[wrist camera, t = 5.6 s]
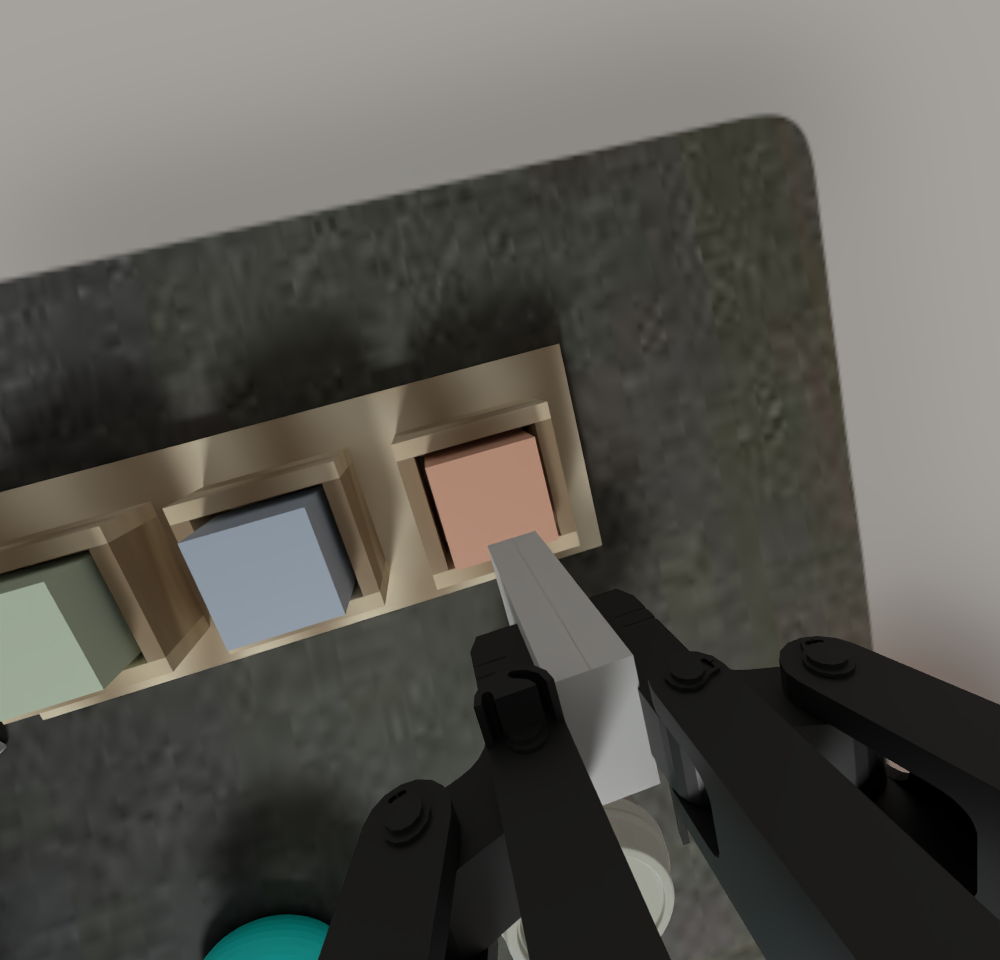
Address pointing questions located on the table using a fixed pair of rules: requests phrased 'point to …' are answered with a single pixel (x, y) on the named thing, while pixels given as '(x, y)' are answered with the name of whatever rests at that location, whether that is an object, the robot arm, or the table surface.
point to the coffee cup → (643, 858)
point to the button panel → (289, 469)
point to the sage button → (59, 635)
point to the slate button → (271, 567)
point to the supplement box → (2, 746)
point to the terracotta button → (489, 494)
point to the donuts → (273, 939)
